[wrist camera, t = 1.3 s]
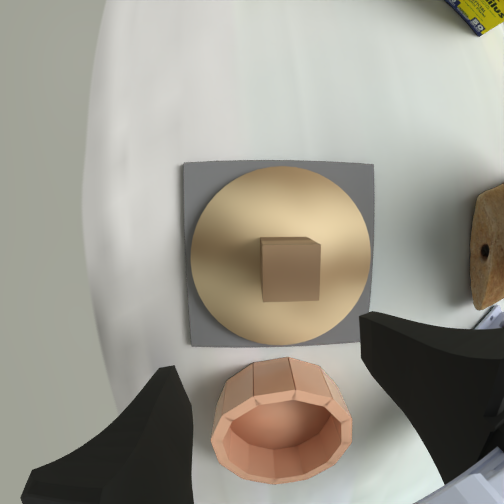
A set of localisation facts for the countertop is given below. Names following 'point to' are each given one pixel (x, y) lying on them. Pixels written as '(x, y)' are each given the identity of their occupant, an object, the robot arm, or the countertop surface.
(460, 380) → the robot arm
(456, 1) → the supplement box
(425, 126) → the countertop surface
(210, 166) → the charcoal mat
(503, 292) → the stone cup
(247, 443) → the terracotta bowl
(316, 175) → the oak lid
